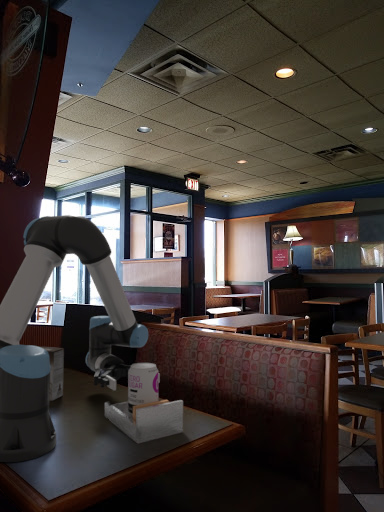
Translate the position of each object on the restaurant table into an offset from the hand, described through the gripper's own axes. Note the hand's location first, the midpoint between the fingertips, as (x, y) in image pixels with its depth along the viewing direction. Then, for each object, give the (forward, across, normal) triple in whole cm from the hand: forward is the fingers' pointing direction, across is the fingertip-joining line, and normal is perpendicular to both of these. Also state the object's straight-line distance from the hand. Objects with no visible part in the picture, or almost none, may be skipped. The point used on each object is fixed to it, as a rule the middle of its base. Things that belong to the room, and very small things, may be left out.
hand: (137, 381), depth 114 cm
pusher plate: (+9, 0, -9) cm, 13 cm away
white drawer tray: (+4, 0, -10) cm, 11 cm away
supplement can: (+5, 0, -10) cm, 11 cm away
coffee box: (-35, +17, -11) cm, 40 cm away
